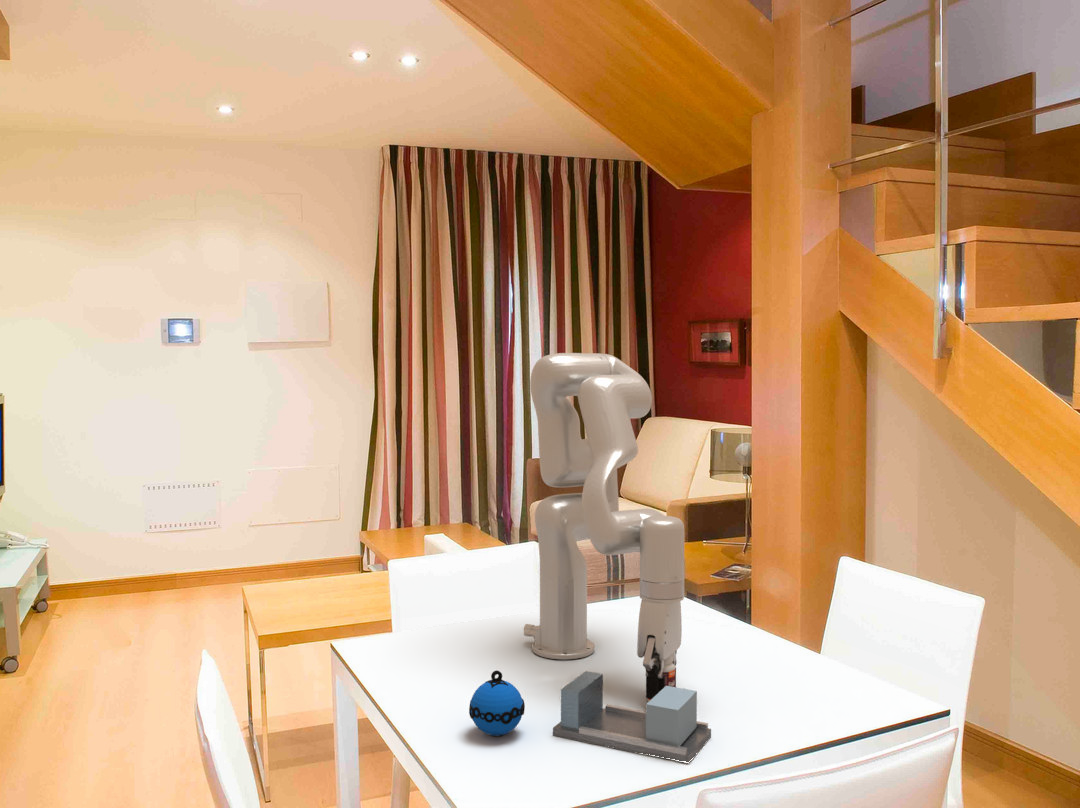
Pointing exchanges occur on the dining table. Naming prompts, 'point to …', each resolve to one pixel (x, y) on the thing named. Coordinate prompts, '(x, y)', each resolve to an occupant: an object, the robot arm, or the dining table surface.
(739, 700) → the dining table surface
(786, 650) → the dining table surface
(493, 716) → the ornament
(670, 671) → the pill bottle
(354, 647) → the dining table surface
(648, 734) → the plate
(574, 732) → the vise base
